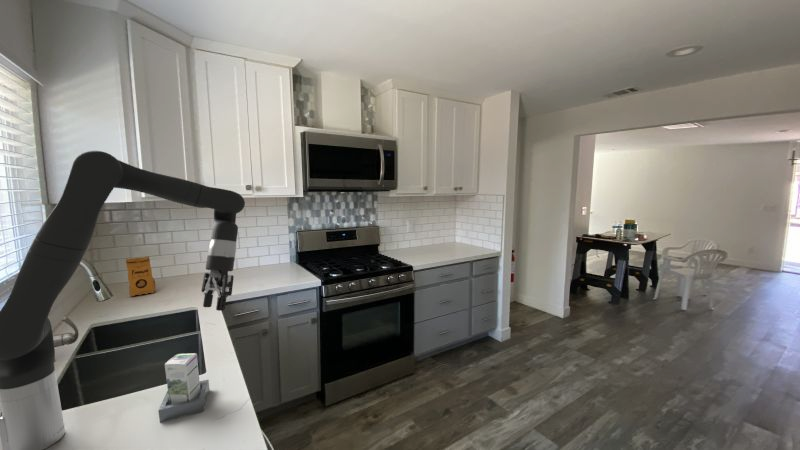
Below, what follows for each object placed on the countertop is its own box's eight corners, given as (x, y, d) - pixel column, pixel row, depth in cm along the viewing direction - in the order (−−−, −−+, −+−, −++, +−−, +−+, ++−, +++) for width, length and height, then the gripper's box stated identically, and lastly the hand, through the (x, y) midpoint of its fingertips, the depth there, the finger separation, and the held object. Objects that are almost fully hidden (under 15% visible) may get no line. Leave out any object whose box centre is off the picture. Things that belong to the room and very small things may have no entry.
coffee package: (155, 294, 189) (151, 257, 186) (128, 298, 182) (123, 260, 180) (157, 289, 197) (153, 254, 195) (131, 293, 191) (126, 257, 188)
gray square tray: (159, 422, 86) (158, 410, 86) (170, 399, 95) (168, 388, 95) (203, 411, 90) (202, 399, 89) (209, 390, 99) (208, 379, 99)
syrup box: (202, 397, 96) (197, 351, 94) (190, 411, 90) (184, 363, 88) (182, 398, 95) (177, 352, 94) (169, 412, 90) (163, 363, 88)
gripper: (198, 253, 102) (189, 306, 99) (220, 254, 93) (211, 312, 91) (222, 256, 108) (215, 305, 105) (245, 256, 99) (237, 310, 97)
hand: (213, 308), depth 98 cm, fingers open, 8 cm apart
